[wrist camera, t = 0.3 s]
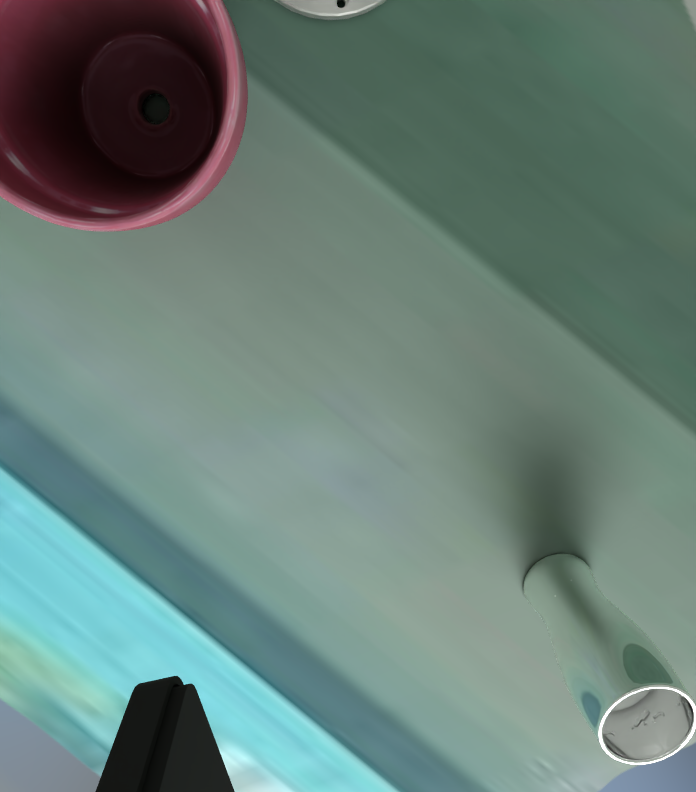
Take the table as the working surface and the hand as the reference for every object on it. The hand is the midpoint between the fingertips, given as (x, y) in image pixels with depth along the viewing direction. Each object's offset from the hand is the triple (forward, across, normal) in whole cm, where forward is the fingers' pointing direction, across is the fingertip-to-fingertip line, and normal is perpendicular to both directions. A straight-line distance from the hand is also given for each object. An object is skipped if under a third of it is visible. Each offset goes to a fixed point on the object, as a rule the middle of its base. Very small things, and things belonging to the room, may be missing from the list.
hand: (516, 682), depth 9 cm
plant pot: (+37, +10, -15) cm, 41 cm away
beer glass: (+37, -12, +28) cm, 48 cm away
